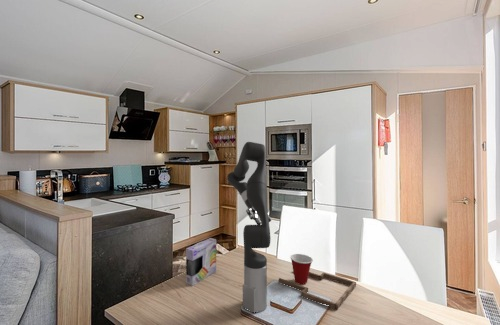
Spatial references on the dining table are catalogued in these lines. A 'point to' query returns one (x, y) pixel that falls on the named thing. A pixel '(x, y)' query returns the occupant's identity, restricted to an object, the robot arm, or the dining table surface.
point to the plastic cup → (301, 267)
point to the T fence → (318, 299)
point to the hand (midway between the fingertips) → (265, 222)
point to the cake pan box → (200, 261)
